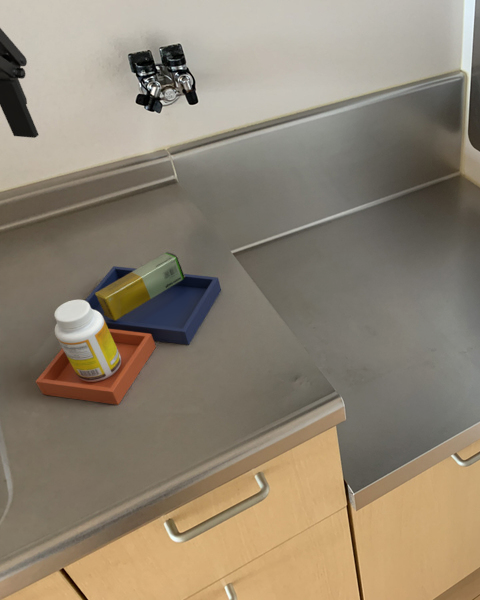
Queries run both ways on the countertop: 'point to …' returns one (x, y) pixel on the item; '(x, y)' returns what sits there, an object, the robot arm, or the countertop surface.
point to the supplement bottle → (86, 341)
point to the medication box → (140, 286)
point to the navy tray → (164, 308)
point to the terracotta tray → (110, 390)
